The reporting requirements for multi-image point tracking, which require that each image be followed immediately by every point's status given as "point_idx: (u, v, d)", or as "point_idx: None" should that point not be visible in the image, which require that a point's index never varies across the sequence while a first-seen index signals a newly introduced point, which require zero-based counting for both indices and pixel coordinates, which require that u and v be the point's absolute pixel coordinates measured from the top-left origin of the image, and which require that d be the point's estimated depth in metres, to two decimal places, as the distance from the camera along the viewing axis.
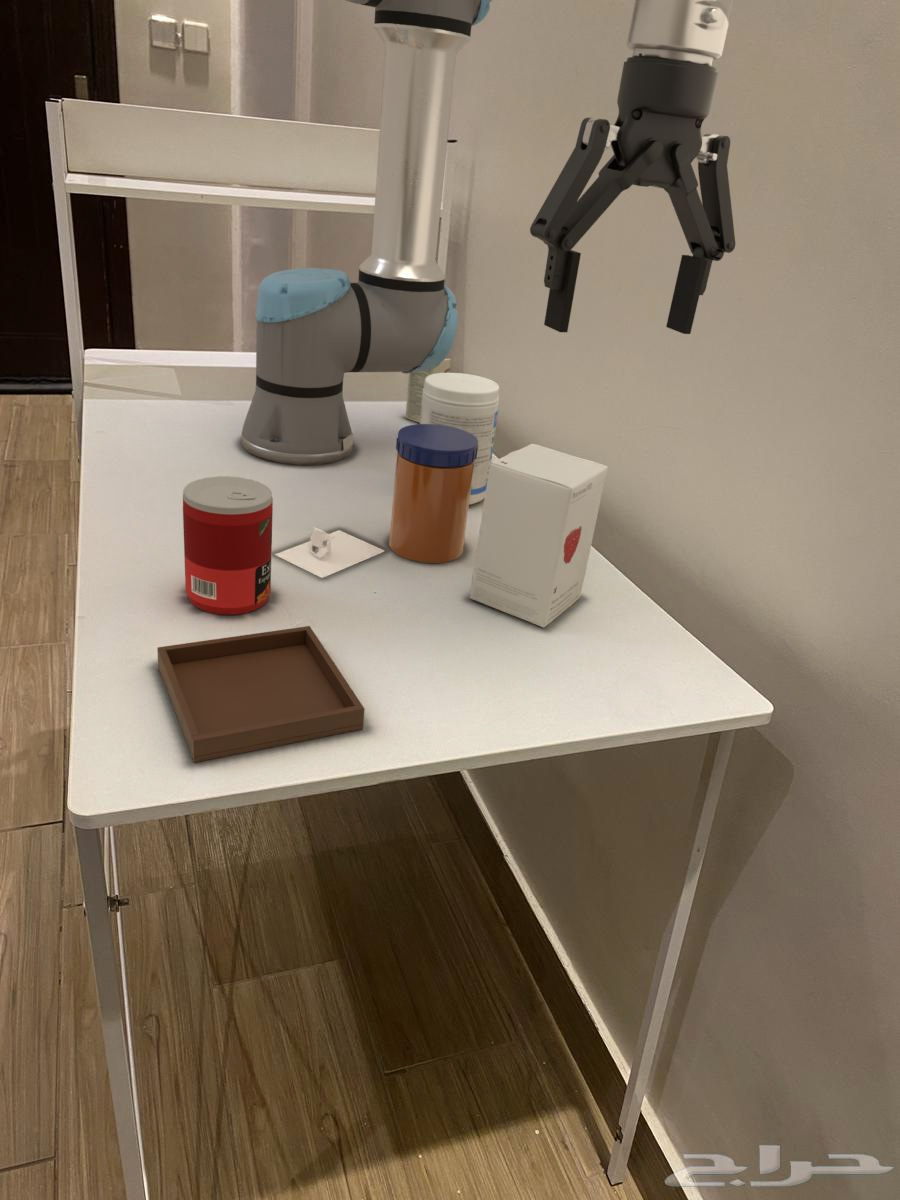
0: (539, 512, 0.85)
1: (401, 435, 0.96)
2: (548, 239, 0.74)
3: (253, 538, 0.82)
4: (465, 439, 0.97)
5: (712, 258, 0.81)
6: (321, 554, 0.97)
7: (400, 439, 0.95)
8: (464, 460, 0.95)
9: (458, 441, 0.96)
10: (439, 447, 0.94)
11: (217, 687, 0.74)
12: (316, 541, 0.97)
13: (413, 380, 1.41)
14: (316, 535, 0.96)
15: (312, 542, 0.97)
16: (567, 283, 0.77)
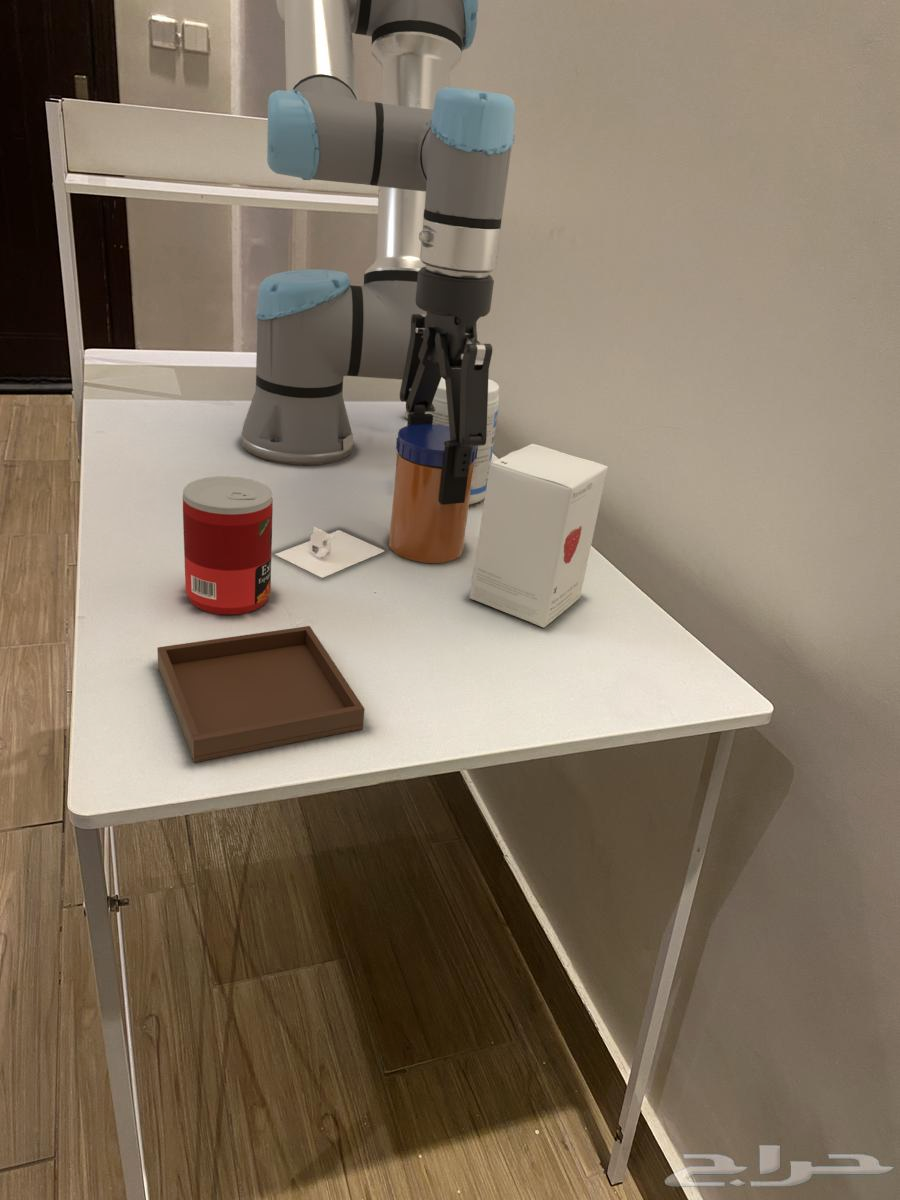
0: (539, 512, 0.85)
1: (401, 435, 0.96)
2: (401, 400, 1.01)
3: (253, 538, 0.82)
4: None
5: None
6: (321, 554, 0.97)
7: (400, 439, 0.95)
8: None
9: None
10: (439, 447, 0.94)
11: (217, 687, 0.74)
12: (316, 541, 0.97)
13: None
14: (316, 535, 0.96)
15: (312, 542, 0.97)
16: None
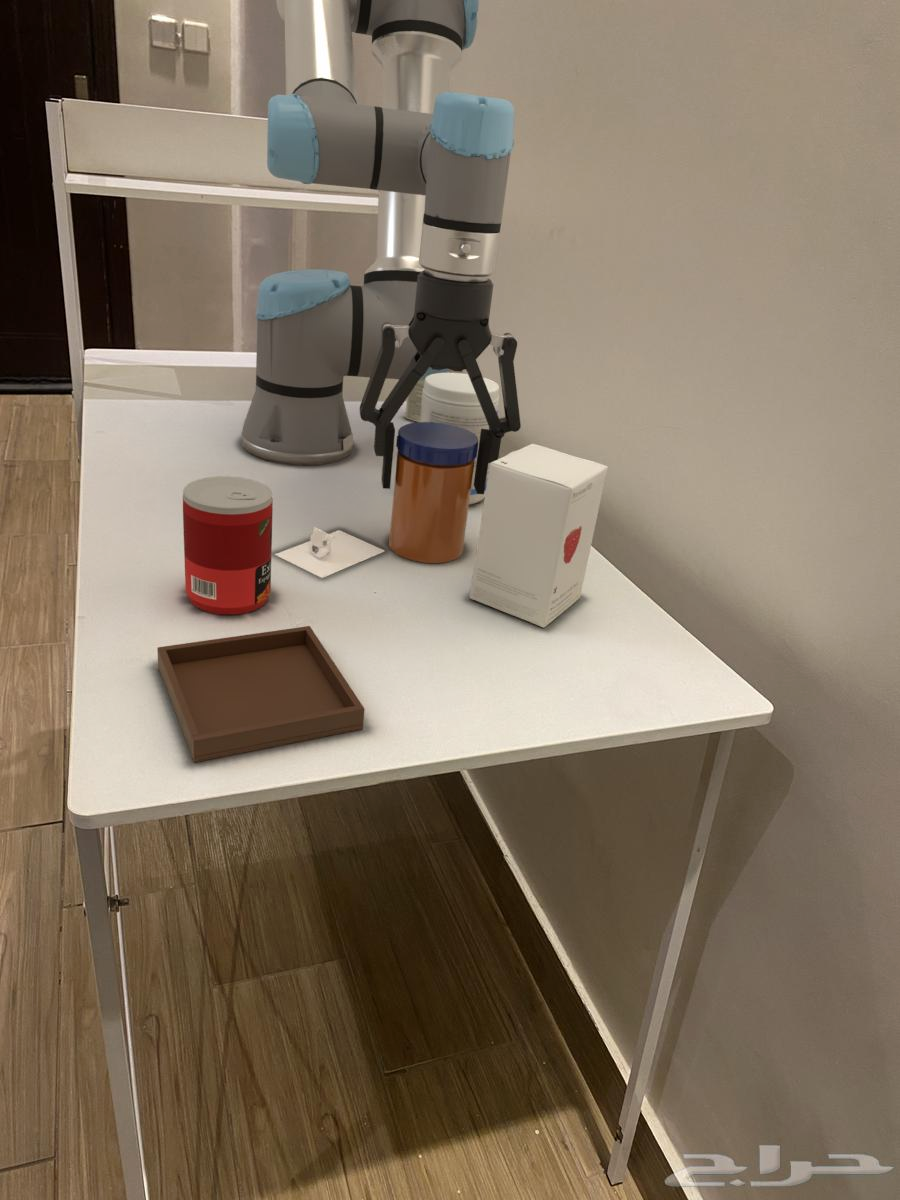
0: (539, 512, 0.85)
1: (436, 446, 0.93)
2: (365, 419, 0.94)
3: (253, 538, 0.82)
4: (444, 427, 0.99)
5: (494, 435, 0.96)
6: (321, 554, 0.97)
7: (443, 450, 0.93)
8: None
9: (450, 430, 0.98)
10: (469, 440, 0.96)
11: (217, 687, 0.74)
12: (316, 541, 0.97)
13: None
14: (316, 535, 0.96)
15: (312, 542, 0.97)
16: (386, 452, 0.96)
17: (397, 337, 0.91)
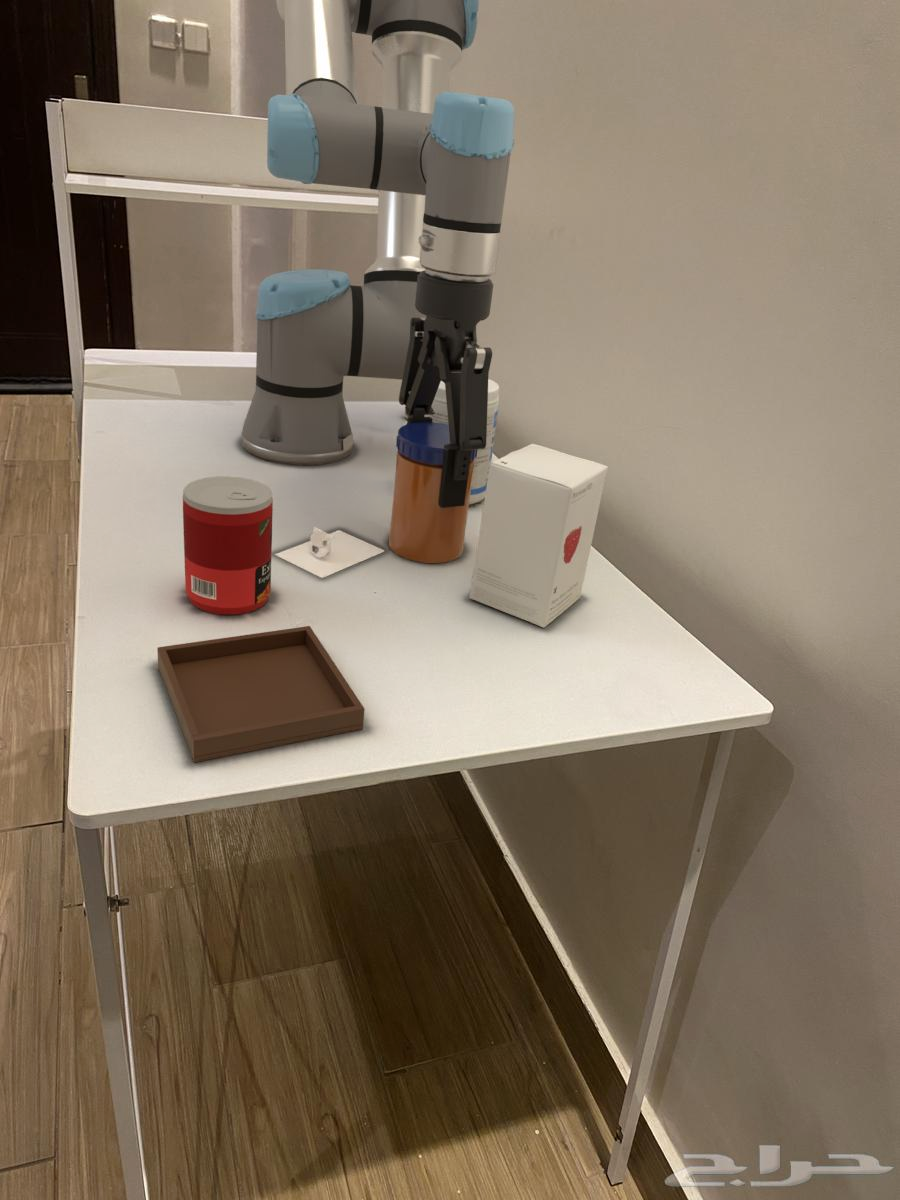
0: (539, 512, 0.85)
1: (436, 447, 0.93)
2: (400, 403, 1.01)
3: (253, 538, 0.82)
4: (444, 427, 0.99)
5: (446, 445, 0.92)
6: (321, 554, 0.97)
7: (443, 450, 0.93)
8: None
9: None
10: None
11: (217, 687, 0.74)
12: (316, 541, 0.97)
13: None
14: (316, 535, 0.96)
15: (312, 542, 0.97)
16: None
17: (422, 329, 0.96)
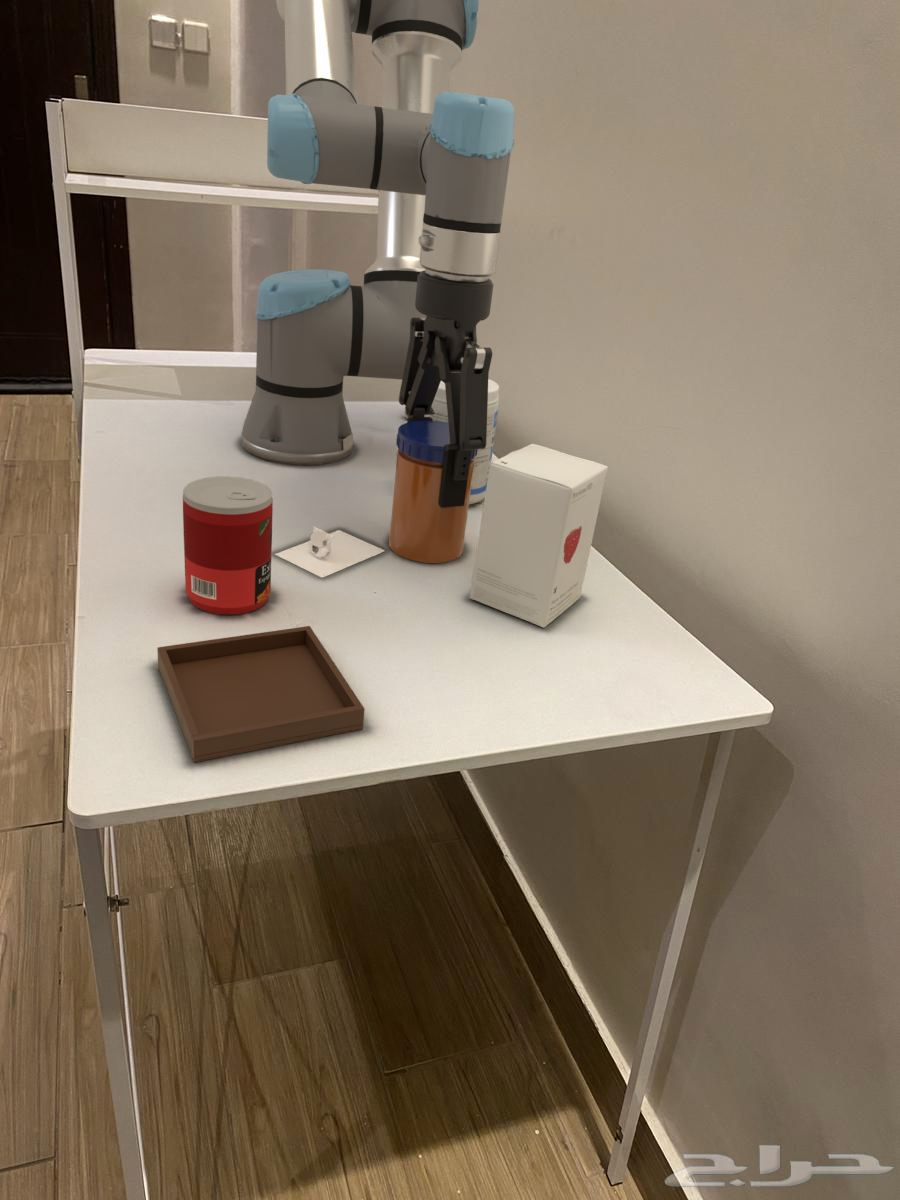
0: (539, 512, 0.85)
1: None
2: (400, 403, 1.01)
3: (253, 538, 0.82)
4: (414, 426, 0.98)
5: (446, 445, 0.92)
6: (321, 554, 0.97)
7: None
8: None
9: (425, 426, 0.98)
10: None
11: (217, 687, 0.74)
12: (316, 541, 0.97)
13: None
14: (316, 535, 0.96)
15: (312, 542, 0.97)
16: None
17: (422, 329, 0.96)
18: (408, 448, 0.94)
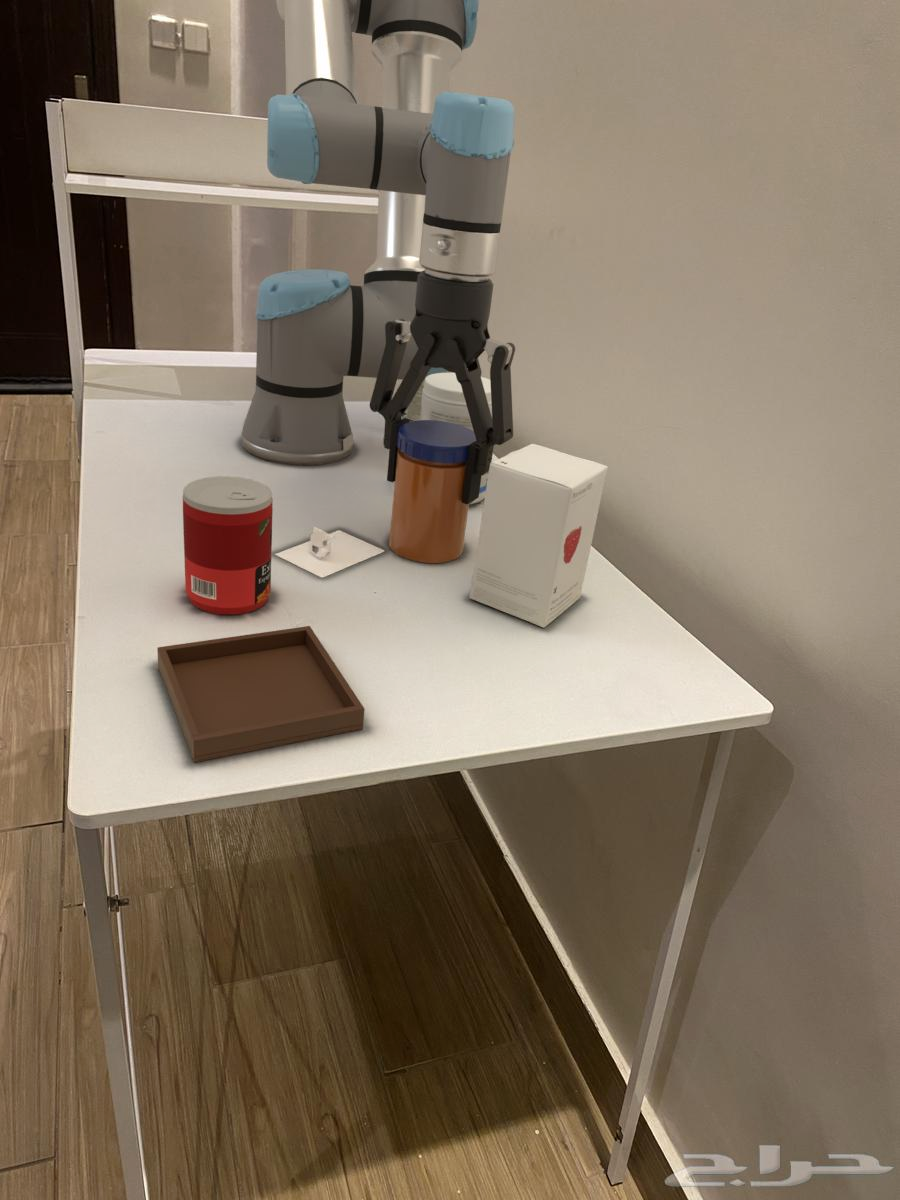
0: (539, 512, 0.85)
1: (473, 433, 0.98)
2: (373, 410, 0.98)
3: (253, 538, 0.82)
4: (411, 431, 0.96)
5: (475, 444, 0.93)
6: (321, 554, 0.97)
7: None
8: None
9: (417, 429, 0.97)
10: (433, 422, 1.00)
11: (217, 687, 0.74)
12: (316, 541, 0.97)
13: None
14: (316, 535, 0.96)
15: (312, 542, 0.97)
16: None
17: (401, 332, 0.94)
18: (431, 454, 0.93)
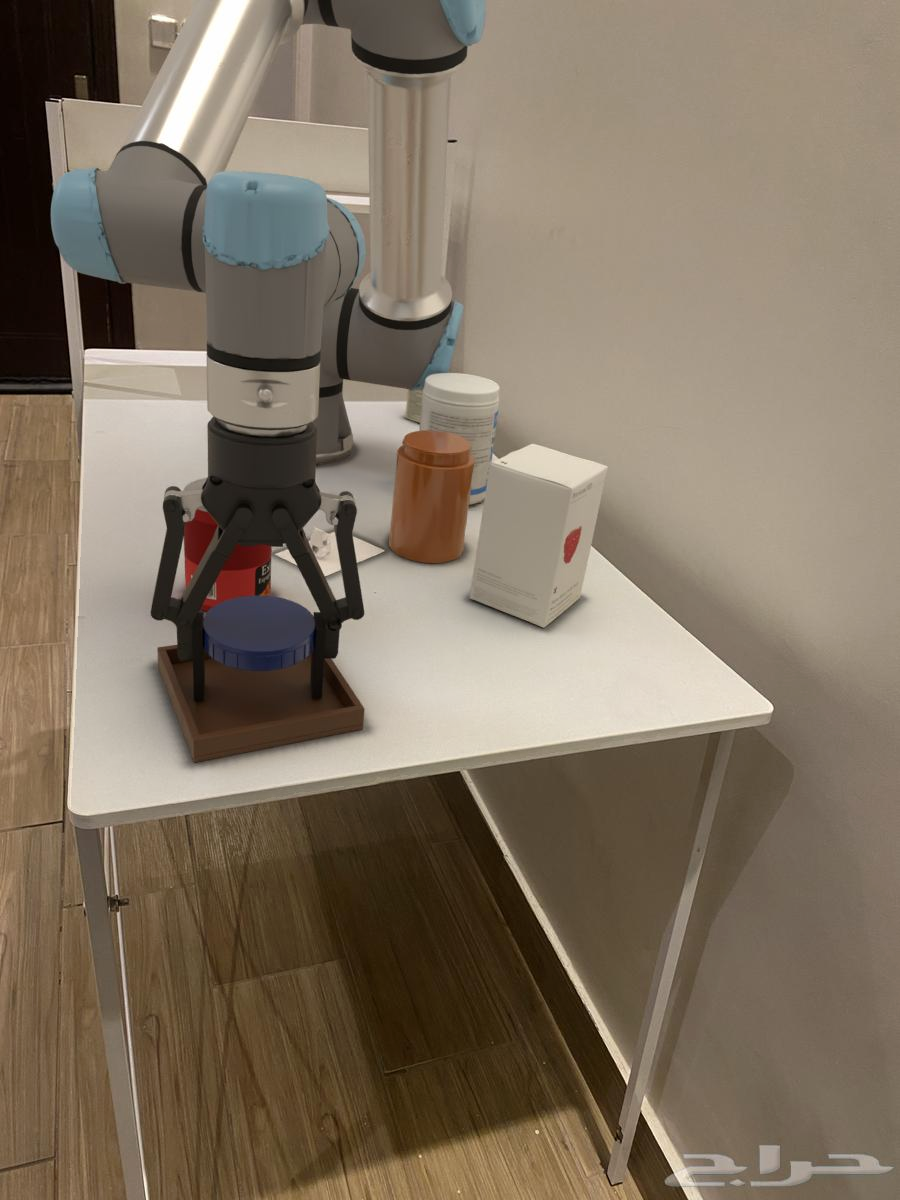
0: (539, 512, 0.85)
1: (294, 604, 0.74)
2: (158, 619, 0.67)
3: None
4: (227, 633, 0.69)
5: (327, 627, 0.70)
6: (321, 554, 0.97)
7: None
8: None
9: (229, 625, 0.70)
10: (233, 604, 0.72)
11: (217, 687, 0.74)
12: (316, 541, 0.97)
13: None
14: (316, 535, 0.96)
15: (312, 542, 0.97)
16: (193, 656, 0.70)
17: (186, 508, 0.64)
18: (279, 660, 0.68)
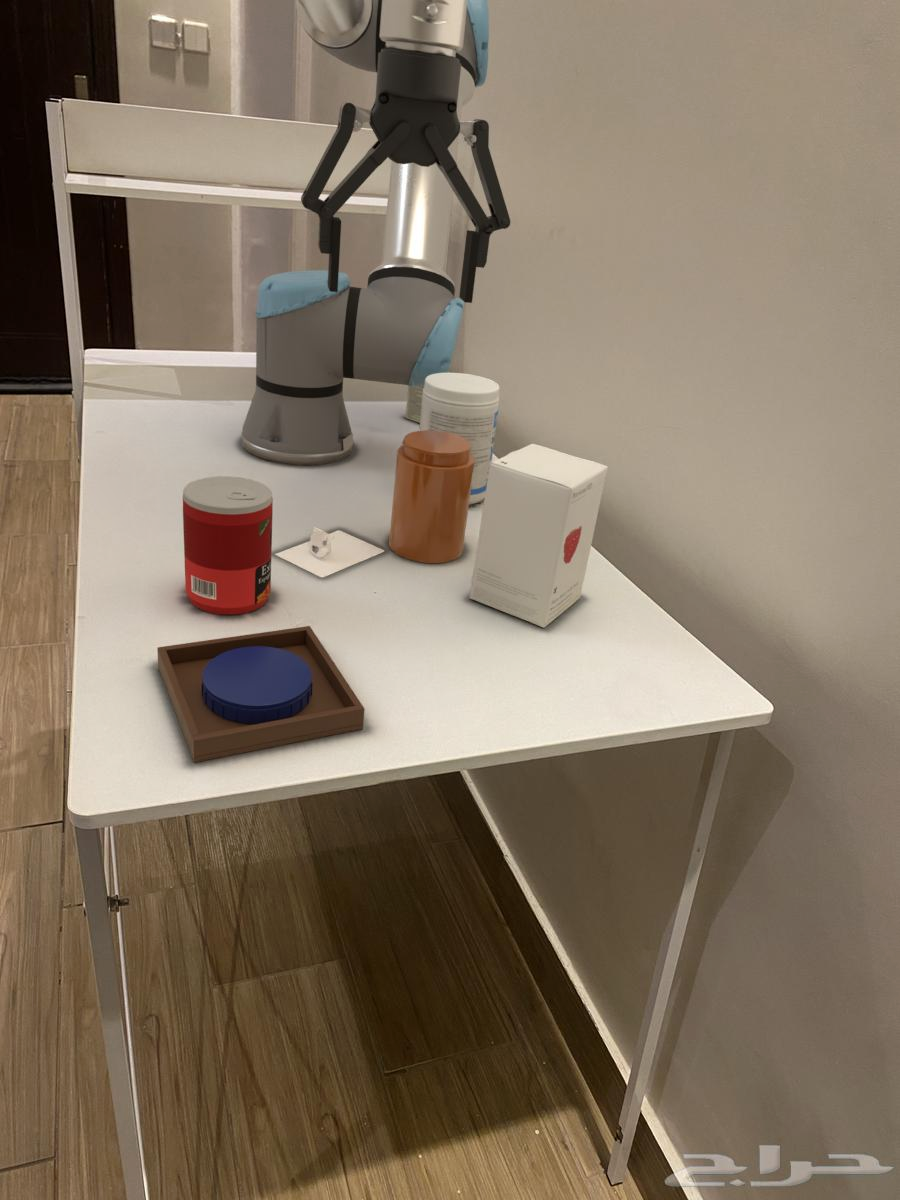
0: (539, 512, 0.85)
1: (291, 654, 0.76)
2: (306, 207, 0.85)
3: (253, 538, 0.82)
4: (226, 686, 0.71)
5: (483, 232, 0.89)
6: (321, 554, 0.97)
7: None
8: None
9: (228, 678, 0.72)
10: (232, 655, 0.75)
11: None
12: (316, 541, 0.97)
13: None
14: (316, 535, 0.96)
15: (312, 542, 0.97)
16: (332, 247, 0.87)
17: (357, 119, 0.83)
18: (276, 714, 0.70)
